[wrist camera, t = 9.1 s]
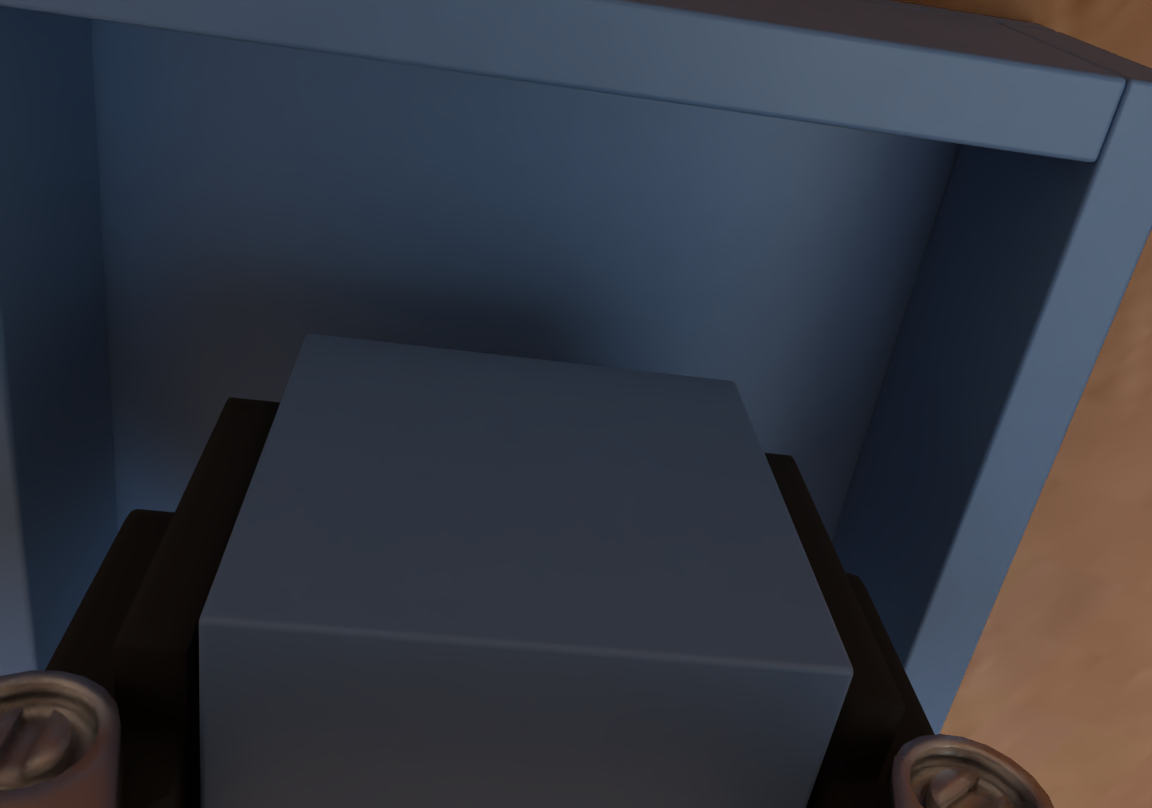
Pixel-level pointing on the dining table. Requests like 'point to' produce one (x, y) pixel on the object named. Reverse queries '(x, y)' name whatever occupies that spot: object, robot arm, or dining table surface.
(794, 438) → the blue bin
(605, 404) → the blue block
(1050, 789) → the dining table surface
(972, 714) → the dining table surface
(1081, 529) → the dining table surface
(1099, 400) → the dining table surface
